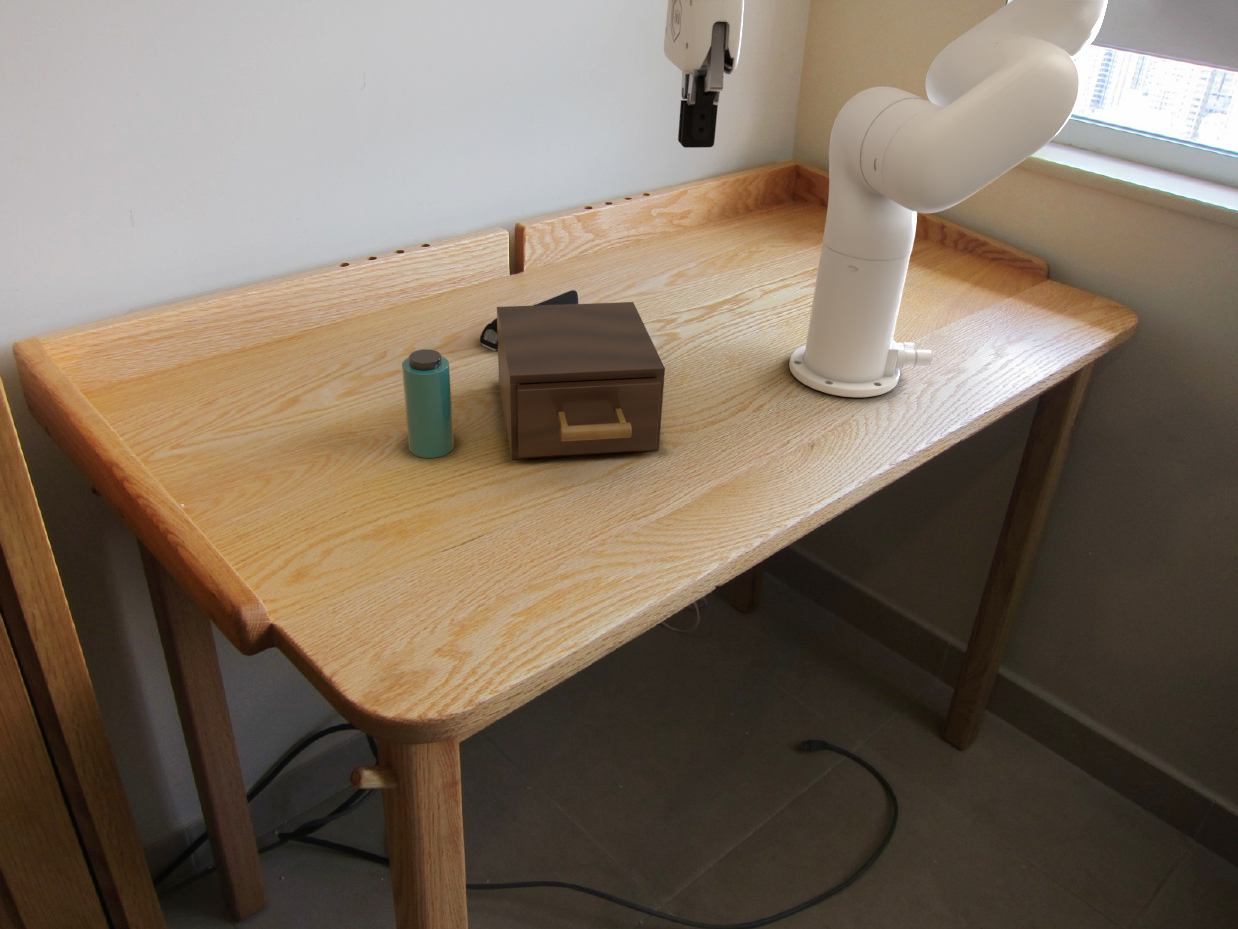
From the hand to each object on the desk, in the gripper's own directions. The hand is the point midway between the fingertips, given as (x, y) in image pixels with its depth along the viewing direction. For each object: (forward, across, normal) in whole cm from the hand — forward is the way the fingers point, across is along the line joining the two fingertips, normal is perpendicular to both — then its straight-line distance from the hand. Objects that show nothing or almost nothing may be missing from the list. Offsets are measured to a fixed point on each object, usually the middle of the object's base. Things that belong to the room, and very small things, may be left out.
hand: (695, 144), depth 94 cm
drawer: (+26, +8, -12) cm, 30 cm away
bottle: (+27, +8, -27) cm, 39 cm away
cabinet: (+27, +4, -12) cm, 30 cm away
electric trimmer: (+27, -18, -14) cm, 36 cm away
